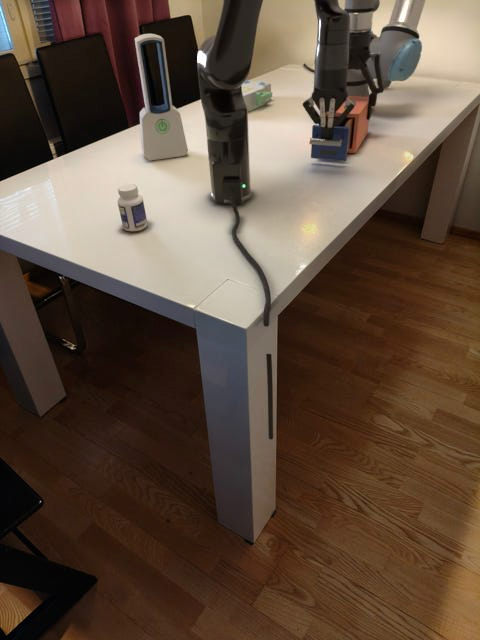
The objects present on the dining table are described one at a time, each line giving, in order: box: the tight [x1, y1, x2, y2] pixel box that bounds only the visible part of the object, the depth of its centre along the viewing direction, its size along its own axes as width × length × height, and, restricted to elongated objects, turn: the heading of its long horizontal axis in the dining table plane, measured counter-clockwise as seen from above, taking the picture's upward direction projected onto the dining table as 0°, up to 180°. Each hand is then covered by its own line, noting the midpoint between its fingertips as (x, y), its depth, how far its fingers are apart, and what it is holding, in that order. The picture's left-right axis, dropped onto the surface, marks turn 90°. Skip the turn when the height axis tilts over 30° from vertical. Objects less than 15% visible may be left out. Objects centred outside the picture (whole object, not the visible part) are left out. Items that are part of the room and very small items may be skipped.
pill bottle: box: [117, 182, 148, 232], centre depth 102 cm, size 5×5×9 cm
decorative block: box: [241, 79, 273, 113], centre depth 175 cm, size 26×6×20 cm
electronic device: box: [134, 33, 189, 162], centre depth 131 cm, size 12×8×30 cm, turn 105°
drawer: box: [309, 117, 355, 162], centre depth 129 cm, size 23×9×8 cm, turn 158°
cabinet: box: [328, 96, 370, 154], centre depth 139 cm, size 19×10×10 cm, turn 158°
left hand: (326, 141), depth 122 cm, fingers closed
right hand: (349, 117), depth 143 cm, fingers closed on cabinet, 10 cm apart
